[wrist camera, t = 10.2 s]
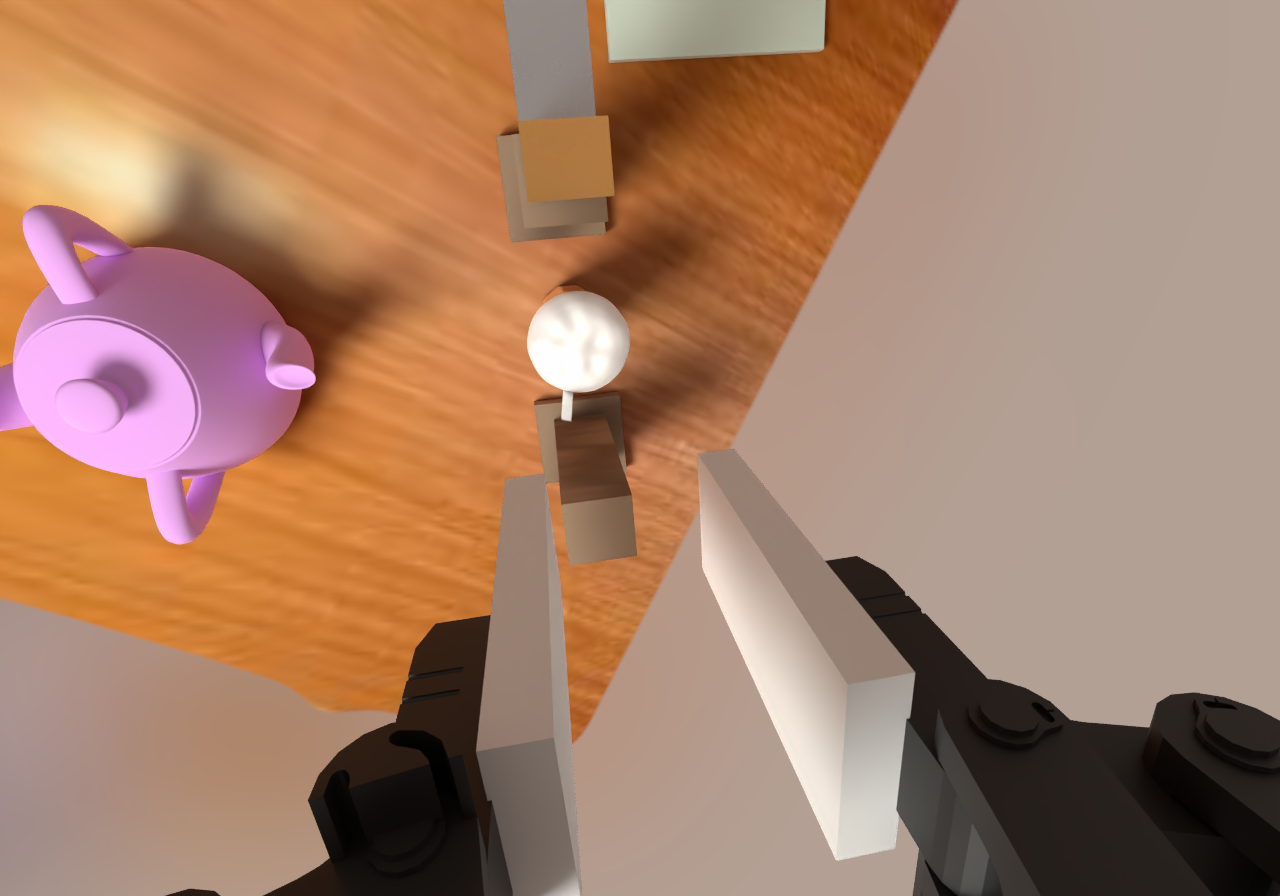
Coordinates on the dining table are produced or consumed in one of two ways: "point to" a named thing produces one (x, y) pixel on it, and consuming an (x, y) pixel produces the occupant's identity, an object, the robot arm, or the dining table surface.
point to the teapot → (150, 365)
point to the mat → (712, 28)
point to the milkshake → (577, 342)
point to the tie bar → (557, 101)
